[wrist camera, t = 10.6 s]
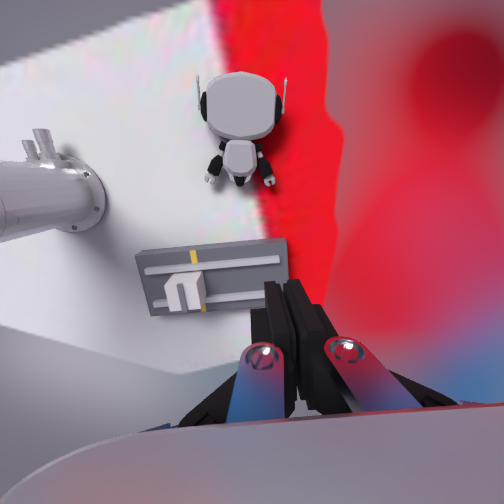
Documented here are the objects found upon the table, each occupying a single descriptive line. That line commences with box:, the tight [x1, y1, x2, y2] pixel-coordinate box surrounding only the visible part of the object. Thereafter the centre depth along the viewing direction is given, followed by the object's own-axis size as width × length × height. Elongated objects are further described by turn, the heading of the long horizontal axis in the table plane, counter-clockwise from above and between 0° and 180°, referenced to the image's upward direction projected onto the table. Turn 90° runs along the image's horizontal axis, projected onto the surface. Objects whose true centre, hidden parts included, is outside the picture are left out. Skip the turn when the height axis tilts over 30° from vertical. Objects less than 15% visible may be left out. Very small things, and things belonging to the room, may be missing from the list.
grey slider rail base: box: [135, 237, 289, 316], centre depth 42 cm, size 12×26×4 cm, turn 95°
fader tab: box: [164, 270, 207, 313], centre depth 39 cm, size 5×5×6 cm
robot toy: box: [196, 72, 287, 187], centre depth 35 cm, size 12×4×15 cm
